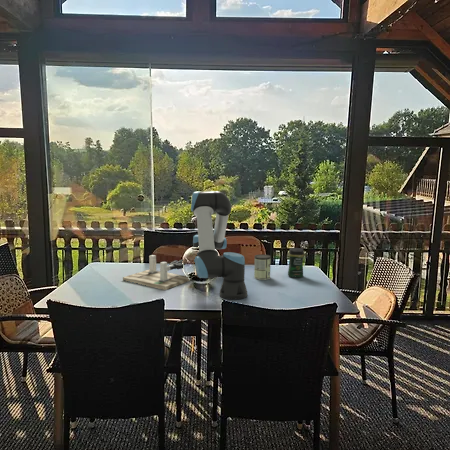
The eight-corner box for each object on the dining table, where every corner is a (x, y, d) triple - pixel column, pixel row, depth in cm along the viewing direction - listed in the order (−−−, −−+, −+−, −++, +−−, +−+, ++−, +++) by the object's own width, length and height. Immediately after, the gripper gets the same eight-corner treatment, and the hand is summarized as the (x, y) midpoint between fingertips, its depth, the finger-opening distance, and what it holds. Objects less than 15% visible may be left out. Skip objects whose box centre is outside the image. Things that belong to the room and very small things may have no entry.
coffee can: (254, 275, 260) (254, 254, 258) (270, 275, 259) (270, 254, 257) (253, 279, 250) (254, 257, 248) (270, 280, 249) (270, 258, 247)
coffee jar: (289, 278, 254) (290, 249, 252) (287, 274, 262) (287, 247, 259) (304, 278, 255) (305, 249, 252) (301, 274, 262) (302, 247, 260)
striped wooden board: (165, 290, 227) (165, 286, 226) (122, 280, 245) (122, 277, 244) (191, 280, 247) (191, 276, 246) (150, 272, 265) (150, 269, 264)
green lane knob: (163, 282, 234) (163, 263, 233) (158, 281, 236) (158, 262, 235) (169, 280, 238) (169, 262, 237) (164, 279, 240) (163, 261, 239)
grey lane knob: (152, 273, 252) (152, 256, 250) (147, 272, 254) (147, 255, 253) (157, 272, 256) (157, 255, 255) (153, 271, 258) (152, 254, 257)
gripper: (198, 268, 255) (174, 276, 235) (181, 265, 262) (157, 273, 242) (198, 257, 254) (174, 264, 234) (181, 254, 260) (157, 261, 241)
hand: (165, 269), depth 238 cm, fingers closed
